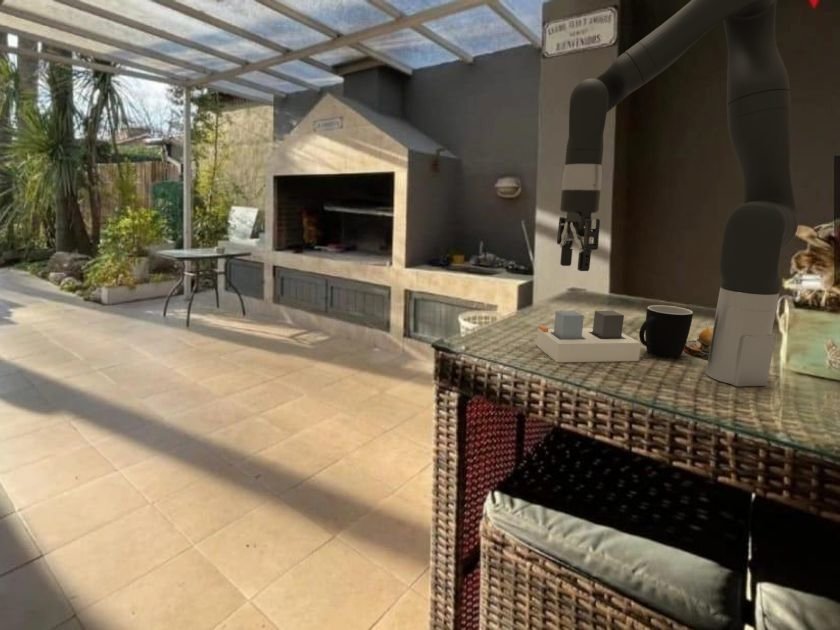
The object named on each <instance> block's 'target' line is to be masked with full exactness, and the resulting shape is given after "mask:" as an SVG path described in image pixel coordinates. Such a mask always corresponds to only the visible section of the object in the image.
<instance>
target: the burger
mask: <svg viewBox="0 0 840 630" xmlns="http://www.w3.org/2000/svg"><path fill="white" fill-rule="evenodd" d="M705 324H706V326H708V325H707V323H705ZM712 333H713V328H708V327H706V328H705V329H704V330H702V331H701V332H700V333H699V335H698V338H697V339H696V340H695V339H693V340H688V341H686V344H685V347H684V350H683V352H686V355H689V356H691V357H694V358H697V359H701V360H706V361H708V358H709V351H710V345H711V339H712Z"/></svg>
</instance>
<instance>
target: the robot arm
mask: <svg viewBox="0 0 840 630" xmlns="http://www.w3.org/2000/svg"><path fill="white" fill-rule="evenodd" d="M777 3H778V0H690V1H689V2H688V3H686V4H685V5H684V6H683V7H682V8H680V10H678V11H677V12H676V13H675V14H673V15H672V16H671V17H669V18H668V19H667V20H665V21H664V22H663V23H662V24H661V25H659V26H658V27H656V28H655V29H653V30H652V31H651V32H650V33H649V34H647V35H646V36H644V37H643V38H642V39H641V40H639V41H638V42H636V43H634V44H633V45H632V46H631V47H630V48H629V49H627V50H625V51H624V52H623V53H622V54H620V55H619V56H618V57H617V58H616V59H614V61H613V62H612V63H611V65H610V66H609V67H608V68H607V69H606V70H605V71H604V72H602V73H601V74H599V75H598V76H597V77H596V78H594V77H593V78H586V79H584V80H582V81H580V82H579V83H577V84H576V85H575V86H574V88H573V90H572V92H571V93H570V98H569V109H568V111H569V113H568V139H567V142H566V143H567V145H566V148H565V149H566V150H565V151H566V152H565V159H564V160H565V161H564V164H565V165H564V169H563V170H564V171H563V176H562V182H561V184H562V185H561V194H560V195H561V197H560V209H559V210H560V211H561V212H562V213H567V214H566V216H560V217H559V219H558V226H557V227H558V230H557V239H556V244H557V245H559V247H560V248H561V252H560V266H563V267H570V266H572V261H573V260H572V258H573V250H574V249H573V247H574V244H575V243H576V244H577V247H578V249H579V250H578V251H579V252H578V257H577V258H578V260H577V270H578V271H579V272H588V271H590V265H591V258H592V257H591V256H592V253H593V252H594V251H598V248H599V240H600V239H599V238H600V226H601V225H600V224H601V221H600V219H599V218H592V214H595V213H598V212H599V210H600V199H601V192H602V191H601V190H602V189H601V188H602V180H603V176H602V175H603V174H602V173H603V172H602V164H603V155H604V154H603V153H604V131H605V126H606V120H607V119H606V118H607V115H608V114H607V113H608V112H610V111H611V110H612V109H614V108H615V107H616V106H617V105H618V104H620V102H622V101H623V100H624V99H625V98H626V97H628V96H629V95H631V94H632V93H633V92H635V91H637V90H638V89H640V88H641V87H643V86H644V85H645V84H647V83H648V82H650V81H651V80H653V79H654V78H655V77H657V76H659V75H660V74H661V73H662V72H664V71H665V70H666V69H668V67H670V66H671V65H672V64H673V63H675V62H676V61H677V60H679V58H680V57H682V56H683V55H684V54H685V53H686V52H687V51H688V50H689V49H690V48H692V46H693V45H694V44H696V42H698V41H699V40H700V39H702V38H703V36H705V35H706V34H707V33H708V32H710V31H711V30H712V29H714V27H716V26H718V25H719V24H720V23H721V22H722V21H723V27H724V32H725V40H726V45H727V73H726V109H727V129H728V135H729V139H730V143H731V146H732V149H733V152H734V154H735V157H736V159H737V162H738V165H739V168H740V170H741V174H742V180H743V194H744V195H743V196H744V197H743V201H744V202H743V204H740V205H739V206H737V207H736V208H735V209H734V210H733V211H732V212H731V213H730V214H729V216H728V217H727V220H726V222H725V226H724V231H723V235H722V240H721V241H722V242H721V243H722V244H721V250H720V251H721V252H720V258H719V274H720V279H721V280H720V286H719V287H720V288H719V293H718V300H717V303H716V309H715V317H714V321H713V322H714V323H713V328H712V329H713V333H712V339H711V345H710V351H709V358H708V360H707V365H706V372H705V373H706V375H707V377H709V378H711V379H714V380H715V381H719V382H721V383H725V384H730V385H732V386H734V387H766V386H767V384H768V383H767V382H768V378H769V373H770V369H771V368H770V367H771V363H772V358H773V353H774V349H775V347H774V346H775V342H776V336H775V335H772V332H773V328H774V324H775V323H774V322H775V318H776V312H777V311H776V310H777V307H778V303H779V298H780V293H781V287H782V283H783V281H782V280H783V279H782V277H781V275H780V273H779V262H780V257H781V251H782V249H784V248H785V247H786V246H788V245H789V244H790V243H791V242H792V241H793V240H794V238H795V236H796V233H797V232H798V229H799V228H798V227H799V219H798V212H797V206H796V200H795V196H794V188H793V183H792V174H791V173H792V171H791V154H792V152H791V151H792V150H791V149H792V148H791V145H792V141H791V140H792V138H791V137H792V136H791V133H792V131H791V109H792V108H791V90H790V89H791V88H790V87H791V86H790V79H789V76H788V73H787V72H788V71H787V68H786V66H785V63H784V60H783V59H782V57H781V54H780V52H779V48H778V45H777V39H776V12H777Z"/></svg>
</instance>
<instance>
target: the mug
mask: <svg viewBox="0 0 840 630" xmlns="http://www.w3.org/2000/svg"><path fill="white" fill-rule="evenodd" d="M693 316H694V312H693V311H692V310H691V309H688V308H684V307H680V306H674V305H673V306H672V305H664V304H663V305H662V304H661V305H660V304H657V305H656V304H654V305H649V306H647V308H646V315H645V321H644V322H643V323H642V324H641V327H640V328H639V335H638V336H639V342H640V343H641V345H643V346H644V347H646V351H647V352H648V354H650V355H651V356H654V357H658V358H661V359H662V358H664V359H678V358H679V357H680V356H681V355H682V353H683V352H684V351H683V350H684V347H685V344H686V342H688V341H687V340H688V337H689V334H690V330H691V326H692V321H693Z"/></svg>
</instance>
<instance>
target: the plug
mask: <svg viewBox="0 0 840 630" xmlns="http://www.w3.org/2000/svg"><path fill="white" fill-rule="evenodd" d="M584 319H585V316H584V314H582V313H580V312H578V311H576V310H556V311H555V317H554V327H553V329H554V336H555V337H557V338H558V339H560V340H575V339H582V329H583V328H584Z"/></svg>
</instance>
